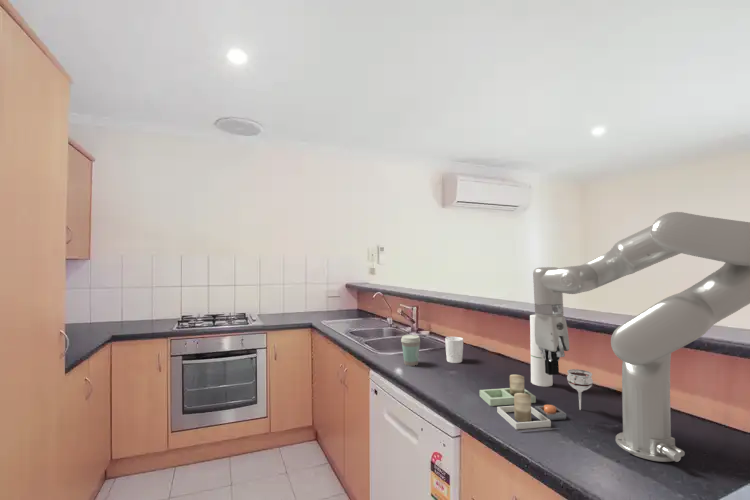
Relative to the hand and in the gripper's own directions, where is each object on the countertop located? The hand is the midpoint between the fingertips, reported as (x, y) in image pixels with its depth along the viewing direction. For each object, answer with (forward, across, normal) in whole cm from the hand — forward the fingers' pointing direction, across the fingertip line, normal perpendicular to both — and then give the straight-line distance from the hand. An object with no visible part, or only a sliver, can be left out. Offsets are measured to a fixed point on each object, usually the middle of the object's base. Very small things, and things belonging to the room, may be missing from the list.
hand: (552, 373), depth 108 cm
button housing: (+13, +1, +1) cm, 13 cm away
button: (+12, +1, +1) cm, 12 cm away
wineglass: (+13, +3, -10) cm, 17 cm away
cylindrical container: (+13, +26, -12) cm, 31 cm away
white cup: (+11, +61, +8) cm, 63 cm away
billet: (+12, 0, +10) cm, 16 cm away
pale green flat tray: (+12, +14, +7) cm, 20 cm away
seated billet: (+12, +14, +4) cm, 19 cm away
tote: (+13, 0, +10) cm, 16 cm away
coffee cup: (+11, +60, +28) cm, 67 cm away
